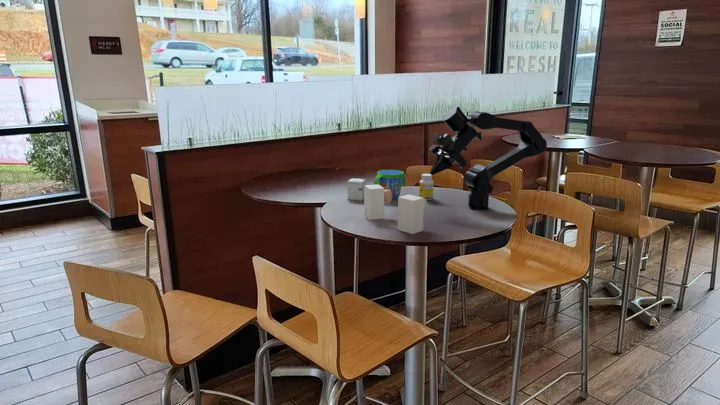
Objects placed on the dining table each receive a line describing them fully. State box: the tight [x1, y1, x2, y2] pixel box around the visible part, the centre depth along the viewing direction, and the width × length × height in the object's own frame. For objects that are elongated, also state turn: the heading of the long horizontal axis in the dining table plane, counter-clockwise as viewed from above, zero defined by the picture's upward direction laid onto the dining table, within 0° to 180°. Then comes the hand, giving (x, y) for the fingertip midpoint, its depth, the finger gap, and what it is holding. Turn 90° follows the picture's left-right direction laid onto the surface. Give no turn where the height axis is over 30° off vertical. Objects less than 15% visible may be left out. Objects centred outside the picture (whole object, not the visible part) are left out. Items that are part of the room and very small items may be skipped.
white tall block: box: [363, 183, 385, 221], centre depth 165 cm, size 5×6×10 cm
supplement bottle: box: [418, 173, 434, 201], centre depth 189 cm, size 5×5×10 cm
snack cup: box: [373, 169, 407, 200], centre depth 191 cm, size 16×10×10 cm
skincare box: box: [347, 178, 367, 201], centre depth 190 cm, size 6×6×7 cm
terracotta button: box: [384, 189, 393, 204], centre depth 165 cm, size 6×4×4 cm
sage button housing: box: [397, 194, 425, 235], centre depth 150 cm, size 5×6×10 cm
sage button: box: [423, 199, 429, 213], centre depth 152 cm, size 6×4×4 cm
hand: (430, 174), depth 168 cm, fingers closed
